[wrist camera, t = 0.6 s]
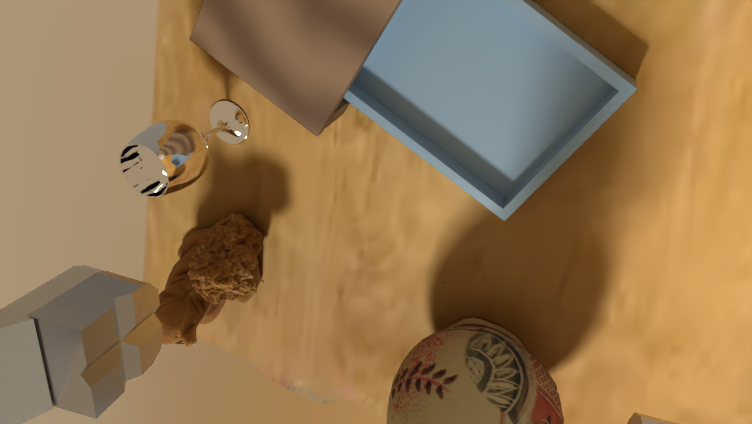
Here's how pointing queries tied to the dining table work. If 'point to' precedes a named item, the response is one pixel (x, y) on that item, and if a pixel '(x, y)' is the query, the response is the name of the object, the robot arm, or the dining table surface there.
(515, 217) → the dining table surface
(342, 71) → the wooden drawer box
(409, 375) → the ceramic jug
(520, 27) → the tray
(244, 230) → the stuffed squirrel
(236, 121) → the wineglass
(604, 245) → the dining table surface
